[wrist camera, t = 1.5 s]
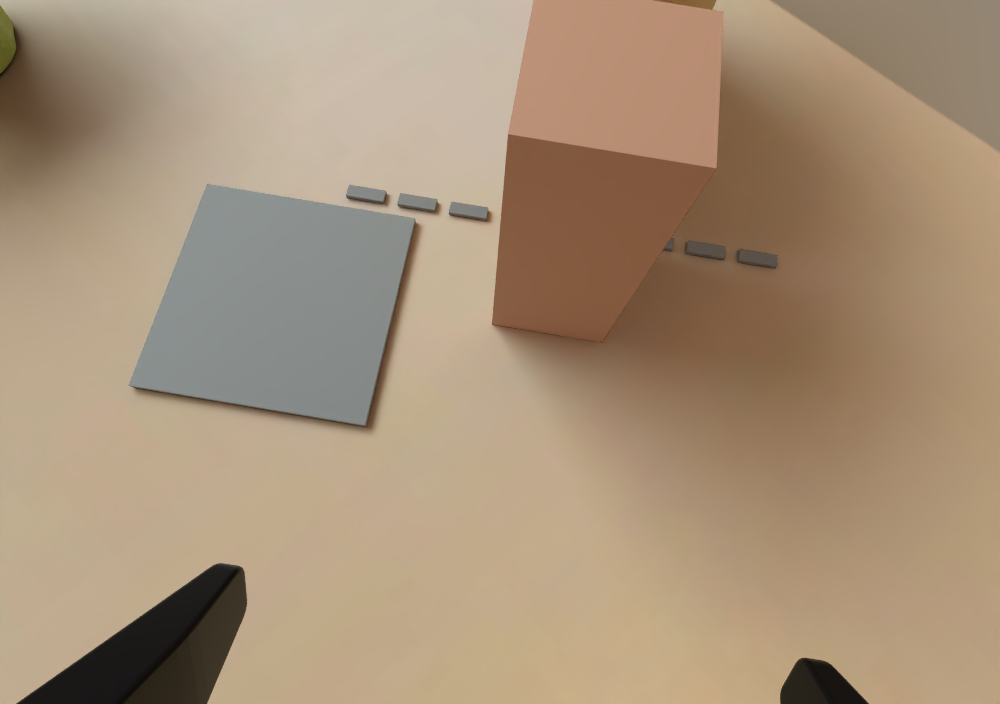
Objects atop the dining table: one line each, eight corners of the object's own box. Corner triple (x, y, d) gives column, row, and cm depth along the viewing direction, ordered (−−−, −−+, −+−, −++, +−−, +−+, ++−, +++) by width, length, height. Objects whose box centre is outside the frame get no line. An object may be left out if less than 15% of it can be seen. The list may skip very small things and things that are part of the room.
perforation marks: (775, 268, 27) (777, 266, 26) (346, 197, 27) (346, 195, 27) (775, 257, 27) (777, 255, 27) (350, 187, 27) (349, 184, 27)
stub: (602, 342, 25) (718, 168, 13) (490, 324, 25) (505, 133, 13) (613, 245, 27) (725, 11, 15) (508, 228, 27) (535, -19, 15)
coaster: (366, 426, 23) (365, 425, 23) (132, 387, 23) (128, 385, 23) (415, 221, 26) (415, 218, 26) (210, 187, 27) (207, 183, 26)
